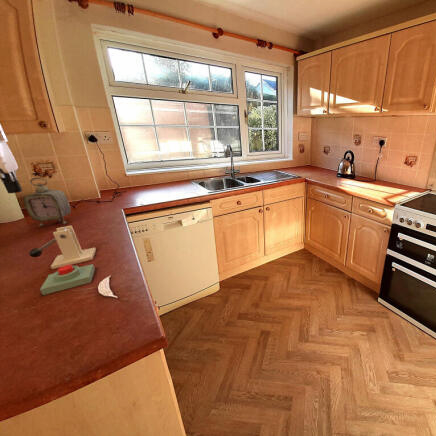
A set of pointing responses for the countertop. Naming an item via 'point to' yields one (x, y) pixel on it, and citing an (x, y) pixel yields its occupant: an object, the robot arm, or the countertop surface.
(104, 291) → the pea pod
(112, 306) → the countertop surface
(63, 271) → the button
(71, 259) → the bracket
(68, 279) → the button box
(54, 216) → the tabletop clock
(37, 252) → the lever
